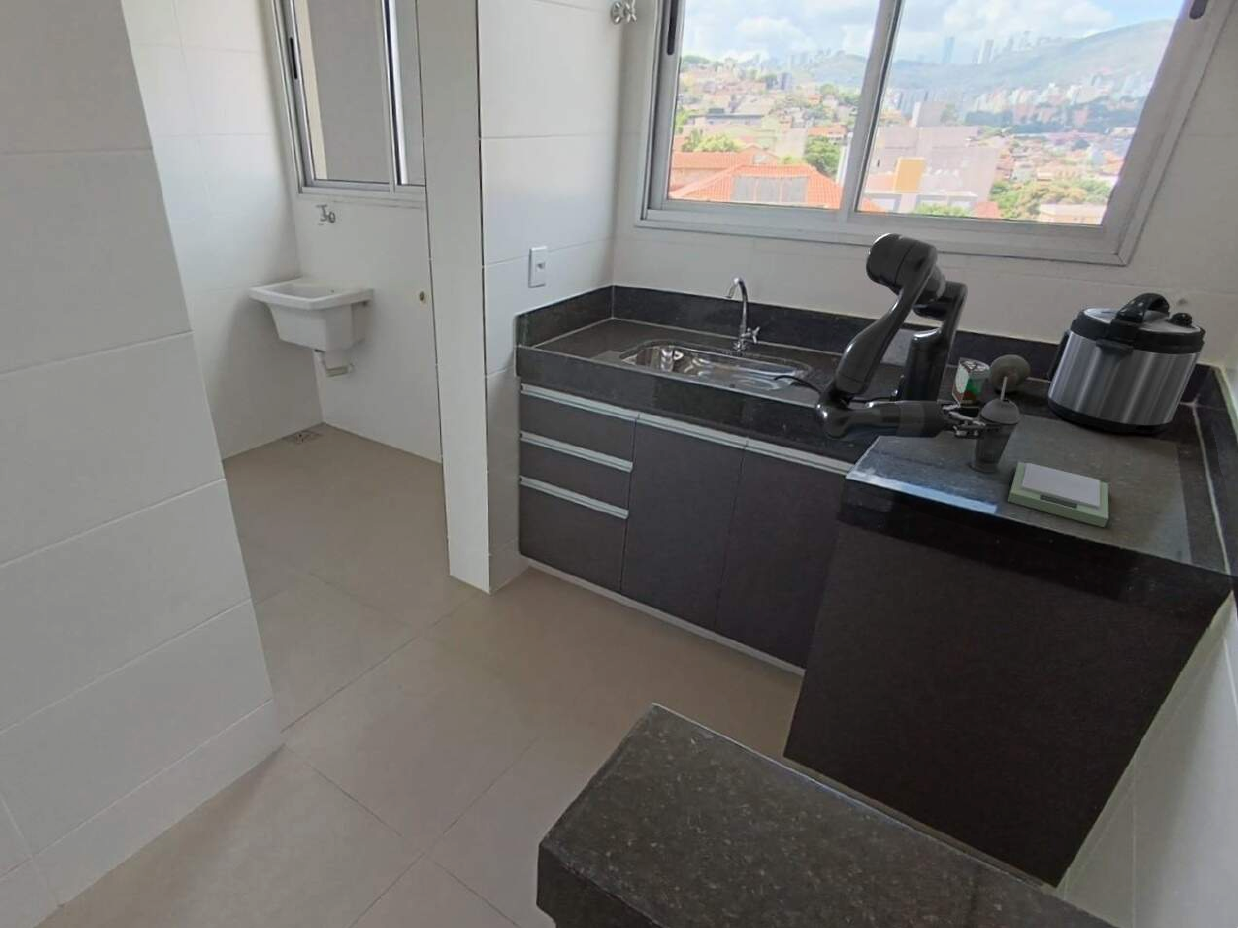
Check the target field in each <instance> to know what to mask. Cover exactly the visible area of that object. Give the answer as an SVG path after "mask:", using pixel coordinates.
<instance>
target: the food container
mask: <svg viewBox="0 0 1238 928" xmlns="http://www.w3.org/2000/svg"><path fill="white" fill-rule="evenodd" d="M957 365H958V366H957V370H956V374H955V378H954V382H953V386H952V390H951V395H952V397H953V398H954V400H955V401H956V402H957V405H960V406H961V407H973V406H974V405H976V404H977V401H978V400H979V399H978V398H979V397H980V394H981V391H982V388H983V385H984V383H985V381H986V379H988V377H989V373H990V370H989V367H990V365H988V364H986V363H985V362H982V361H979V360H976V359H972V358H968V357H960V358H959V361H958V363H957Z"/></svg>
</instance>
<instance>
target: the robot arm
mask: <svg viewBox="0 0 1238 928" xmlns="http://www.w3.org/2000/svg"><path fill="white" fill-rule="evenodd" d="M938 257H939V251H938V247H936V245H934V244H932V243H930V242H926V241H923V240H920V239H916V238H913V237H910V236H907V235H905V234H901V233H897V232H888V233H885V234H883V235H882V236H880V237H878V238H877V239H876V240H875V242H874V243H873V244H872V245H871V246H870V249H869V250H868V253H867V256H866V261H865V271H866V274H867V275H866V276H867V277H868V278H869V279H870V281H872V282H873V283H875V284H878V285H881V286H884V287H886V288H888V289H889V290H890V291H891V292H892V293H893V294H894V295H896V296H897V297H896V299H895V301H894V302H893V304H892V305H891V307H889V309H888V310H887V311H886V312H885V313H884V314H883V315H882V316H881V317H879V318H878V319H877V320H875V321H873V323H872V324H870V325H869V326H867V327H866V328H864V329H863V330H861V332H859V333H858V334H856V336H854V338H852V340H851V341H849V343H848V344H847V346H846V348H845V349H844V352H843V354H842V356H841V358H840V359H839V363H838V365H837V367H836V369H835V373H834V374H833V377H832V378H831V380H830V381H829V382H828V383H827V384H826V386H825V388H824V389H822V388H820V387H819V386H818V385H817V384H815V383H814V382H811V381H808V380H806V379H803V378H800V377H797V376H795V375H791V374H781V375H778V376H776V377H774V378H773V379H772V380H773V381H778V380H780V379H789V380H790V379H791V380H794V381H797V382H798V383H799V382H800V383H802V384H806V385H808V386H810V387H812V388H813V389H815V390H816V391H817V392H818V393H820V395H819V396H818V398H817V399H816V402H814V403H815V404H814V406H813V411H812V418H813V421H814V423H815V424H816V425H817V426H818V428H819V430H821V431H822V433H823V435H824V436H826V437H827V438H828V439H830V440H832V441H838V442H850V441H855V440H861V439H865V438H869V437H896V438H905V439H906V438H907V439H909V438H912V439H913V438H914V439H915V438H916V439H917V438H918V439H934V438H936V437H938V436H939V435H940V434H941V433H943V432H947V433H950V434H953V433H954V435H953V438H954V439H956V440H976V439H977V440H984V438H985V435H986V434H999V433H1000V432H1001V429H1002V424H1000V423H982V422H979V421H977V420H974V419H976V418H977V417H979V414H980V408H979V407H978V406H960V405H959V404H955V402H953V401H938V400H939V396H940V393H941V390H942V389H941V388H942V385H943V380H944V377H945V374H946V370H947V367H948V362H949V359H950V355H951V351H952V348H953V344H954V341H955V337H956V334H957V330H958V327H959V324H960V320H961V317H962V314H963V312H964V308H965V305H966V302H967V298H968V295H969V289H968V286H967V284H966V283H965V282H961V281H956V280H948V279H946V276H945V273H944V272H943V270H942V269H941V268H940V267H939V266H938V264H937V263H938ZM911 311H913V313H914V314H915V315H916V316H917V317H919V318H923V319H927V320H932V321H939V322H941V325H940V326H939V327H937V328H934V329H928V330H922V331H921V330H920V331H917V332H915V333H913V334H912V336H911V338H910V341H909V346H908V350H907V355H906V360H905V364H904V367H903V372H902V375H901V376H900V377H899V381H898V386H897V389H894V390H893V392H891V394H890V395H878V396H877V395H876V396H873V397H871V398H855V397H859V396H860V397H861V396H863V395H865V393H867V391H868V389H869V388H870V386H871V383H872V382H873V379H874V377H875V375H876V373H877V371H878V368H879V366H880V364H881V362H882V361H883V358H884V356H885V354H886V352H887V350H888V348H889V347H890V345H891V344H892V342H893V340H894V339H895V337H896V336H897V334H898V332H899V331H900V330H901V328H902V326H903V324H905V321H906V320H907V318H908V316H909V315H910V313H911ZM880 400H888V401H880ZM851 403H865V404H864V405H863V406H862V407H860V408H853V407H850V405H851ZM965 423H967V424H965Z"/></svg>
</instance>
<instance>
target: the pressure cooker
mask: <svg viewBox="0 0 1238 928" xmlns="http://www.w3.org/2000/svg"><path fill="white" fill-rule="evenodd" d="M1170 309H1171V306H1170V303H1169V301H1168V300H1167V299H1166V297H1165V296H1164V295H1162V294H1160V293H1157V292H1144V293H1141V294H1139V295H1137V296H1136V297H1134V298H1132V299H1131V300H1130V301H1129V302H1128V303H1126V304H1125V305H1124V306H1123V307H1122V308H1104V307H1103V308H1101V307H1100V308H1099V307H1098V308H1093V307H1092V308H1083V309H1081V310H1079V311H1078V313H1077V316H1076V318H1075V319H1073V320H1072V322H1071V325H1070V328H1069V329H1067V330H1065V331H1064V332H1063V334H1062V337H1061V339H1060V341H1059V344H1058V346H1057V349H1056V351H1055V354H1054V356H1053V357H1052V361H1051V363H1050V365H1049V368H1048V371H1047V373H1046V376H1047V382H1050V385H1049V388H1048V391H1047V395H1046V402H1047V404H1048V408H1050V409H1051V410H1052V411H1053V412H1054V413H1056V414H1057V415H1059V416H1061V417H1063V418H1065V419H1067V420H1069V421H1073V422H1075V423H1077V424H1080V425H1088V426H1091V427H1095V428H1098V429H1101V430H1104V431H1109V432H1114V433H1119V434H1130V433H1131V432H1133V433H1137V434H1147V435H1151V434H1157V433H1160V432H1162V431H1163V430H1165V428H1167V427H1168V426H1169V425H1170V424H1171V422H1172V420H1173V418H1174V416H1175V413H1176V411H1177V408H1178V406H1179V404H1180V402H1181V399H1182V397H1183V395H1184V393H1185V391H1186V388H1187V385H1188V383H1189V380H1190V378H1191V376H1192V374H1193V372H1194V370H1195V367H1196V365H1197V363H1198V360H1199V358H1200V356H1201V353H1202V351H1203V348H1204V345H1205V341H1204V338H1205V335H1206V333H1207V331H1206V329H1204V328H1203V327H1201V326H1199V325H1196V324H1194V323H1193V320H1194V318H1193V316H1192V315H1191V314H1190V313H1188V312H1177V313H1174V314H1172V316H1171V317H1170V315H1171V311H1170Z"/></svg>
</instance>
